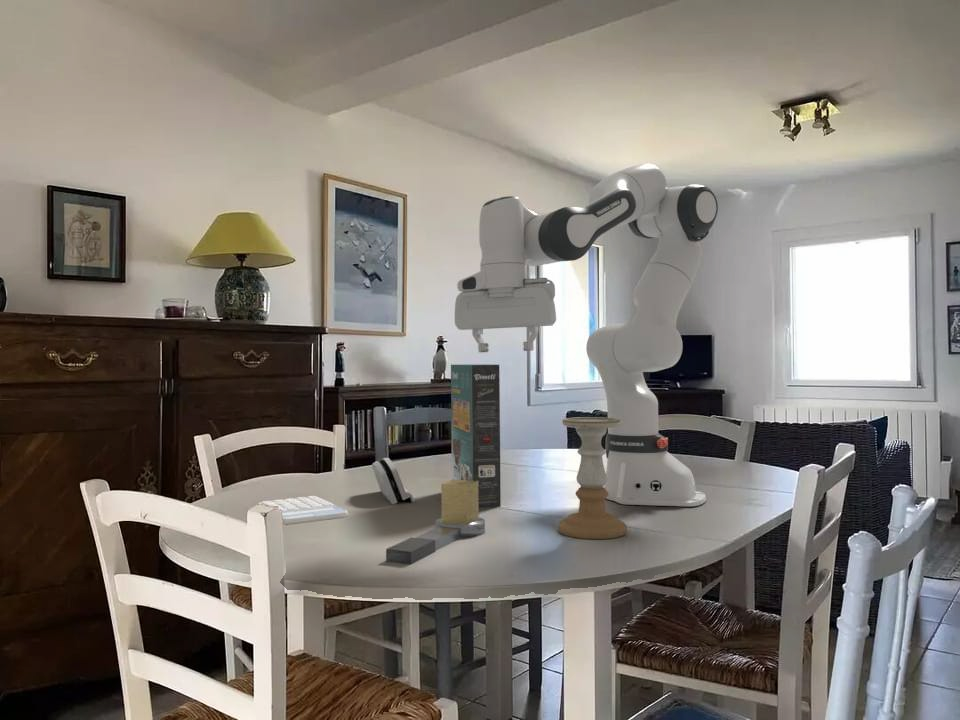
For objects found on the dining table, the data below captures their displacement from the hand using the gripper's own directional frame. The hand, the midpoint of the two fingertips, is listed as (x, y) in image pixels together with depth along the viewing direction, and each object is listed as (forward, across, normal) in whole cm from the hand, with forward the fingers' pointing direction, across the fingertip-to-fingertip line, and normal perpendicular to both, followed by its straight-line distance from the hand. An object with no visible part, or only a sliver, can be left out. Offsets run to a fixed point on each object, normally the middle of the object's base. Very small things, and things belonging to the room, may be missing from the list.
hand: (505, 351), depth 143 cm
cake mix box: (+33, +15, -17) cm, 40 cm away
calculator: (+32, +42, +10) cm, 54 cm away
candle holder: (+33, -18, +5) cm, 38 cm away
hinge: (+33, +34, -11) cm, 48 cm away
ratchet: (+32, +4, +23) cm, 40 cm away
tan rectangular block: (+30, +4, +14) cm, 34 cm away
